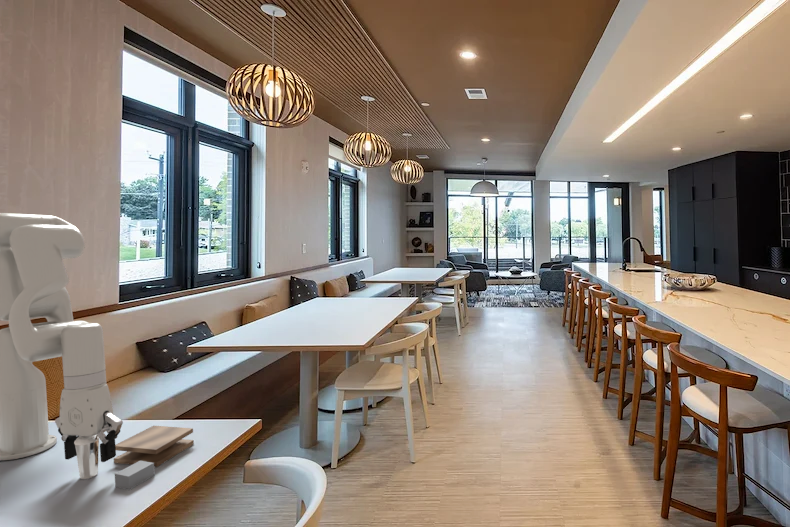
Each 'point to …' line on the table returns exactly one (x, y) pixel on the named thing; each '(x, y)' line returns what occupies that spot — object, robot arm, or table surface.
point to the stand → (154, 445)
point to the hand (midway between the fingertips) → (90, 457)
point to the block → (134, 475)
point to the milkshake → (87, 455)
